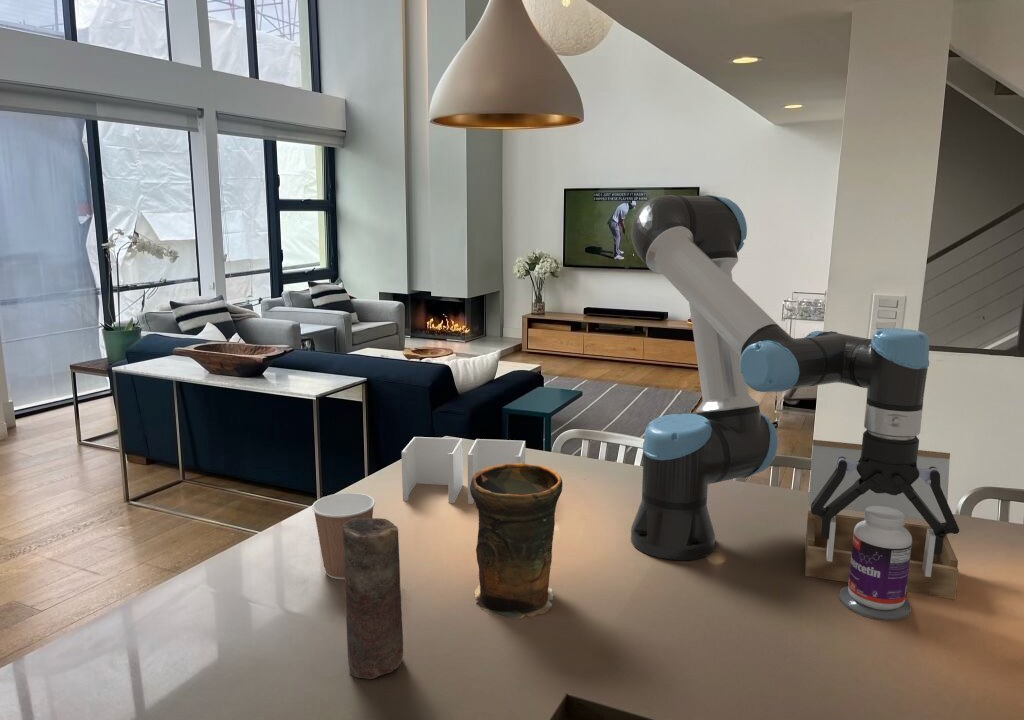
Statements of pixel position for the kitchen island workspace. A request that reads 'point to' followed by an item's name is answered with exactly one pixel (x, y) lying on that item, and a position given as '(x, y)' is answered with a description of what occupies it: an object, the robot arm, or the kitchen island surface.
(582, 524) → the kitchen island surface
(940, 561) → the wooden box
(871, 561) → the pill bottle
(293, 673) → the kitchen island surface
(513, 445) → the storage container
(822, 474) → the lid
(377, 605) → the candle
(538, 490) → the vessel
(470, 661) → the kitchen island surface
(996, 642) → the kitchen island surface
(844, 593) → the grey oval disc
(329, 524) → the coffee cup
